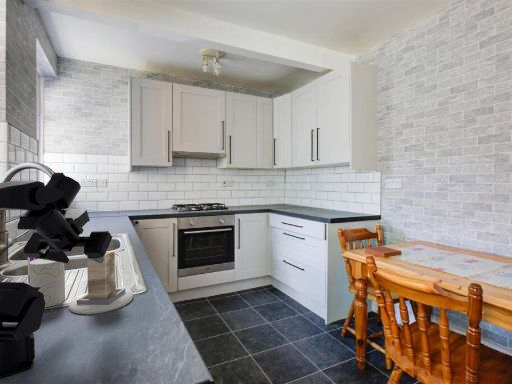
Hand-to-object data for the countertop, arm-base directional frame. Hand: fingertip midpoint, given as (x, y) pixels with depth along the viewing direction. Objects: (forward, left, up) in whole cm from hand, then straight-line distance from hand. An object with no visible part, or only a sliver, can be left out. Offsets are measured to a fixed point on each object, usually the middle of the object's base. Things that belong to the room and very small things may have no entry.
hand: (85, 261), depth 75 cm
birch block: (+5, +6, -13) cm, 15 cm away
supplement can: (-7, +29, -14) cm, 33 cm away
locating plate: (+5, +6, -14) cm, 16 cm away
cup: (-7, +16, -14) cm, 22 cm away
